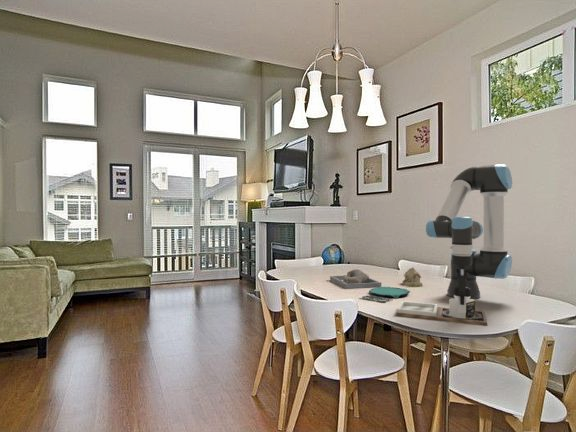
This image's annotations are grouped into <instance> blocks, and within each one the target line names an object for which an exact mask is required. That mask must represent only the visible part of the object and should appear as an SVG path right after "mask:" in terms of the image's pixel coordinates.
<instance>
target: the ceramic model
mask: <svg viewBox="0 0 576 432" xmlns="http://www.w3.org/2000/svg"><path fill="white" fill-rule="evenodd" d="M403 277H404V279H403V280H402V285H404V286H408V287H411V288H413V287H414V288H416V287H422V286H423V285H424V284H423V282H422V281H421V278H422V276H421V273H419V272H418V271H417V269H415V268H414V267H410V268H409V269H408V270H406V272H404V274H403Z"/></svg>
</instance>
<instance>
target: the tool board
mask: <svg viewBox="0 0 576 432" xmlns="http://www.w3.org/2000/svg"><path fill="white" fill-rule="evenodd" d="M395 314H396V317H403V318H404V317H405V318H413V319H421V320H431V319H432V321H440V322H451V323H459V322H460V323H463V324H469V323H470V324H471V325H480V326H488V320H487V316H486V312H485V310H477V309H475V317H474V318H471V319H465V318H455V317H452V316H449V307H443V306H441V307H440V306H439V305H438V303H429V302H428V303H427V302H426V303H425V302H419V301H417V302H415V301H405V300H404V301H403V300H402V301H401V302H399V305H398V306H397V308H396V313H395ZM477 316H478V317H477ZM460 323H459V324H460Z"/></svg>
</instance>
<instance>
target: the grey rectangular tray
mask: <svg viewBox="0 0 576 432" xmlns="http://www.w3.org/2000/svg"><path fill="white" fill-rule="evenodd" d="M343 278H344V275H329V280H330V281H331V282H333V283H335V284H337V285H338V286H340V287H342V288H345V290H347V289H365V288H366V289H369V288H371V289H372V288H377V287H382V282H381V281H378V280H376V279H373V278H371V277H369V278H368V279H366V280H365V281H364V282H362V283H356V284H347V283H345V282H343Z"/></svg>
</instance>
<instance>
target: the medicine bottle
mask: <svg viewBox="0 0 576 432" xmlns="http://www.w3.org/2000/svg"><path fill="white" fill-rule="evenodd" d="M458 293H459V287H455V288H454V297H451V298H449V299H448V301H449V302H448V305H449V307H448V308H449V313H448V315H449V316H452V317H455V318H465V319H472V318H476V316H475V310H476V299H469V298H470V289H469V288H467V287H466V313H458V296H457V294H458ZM463 293H464V292H463Z"/></svg>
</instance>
